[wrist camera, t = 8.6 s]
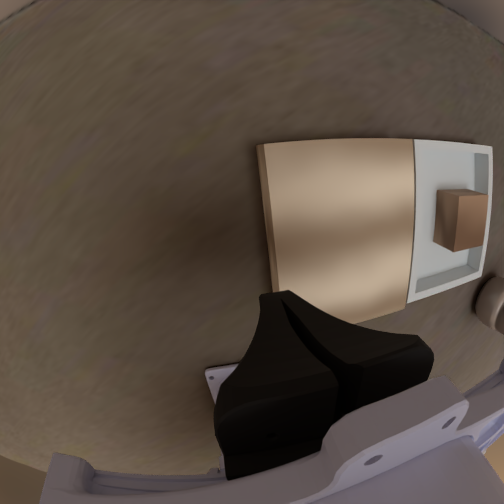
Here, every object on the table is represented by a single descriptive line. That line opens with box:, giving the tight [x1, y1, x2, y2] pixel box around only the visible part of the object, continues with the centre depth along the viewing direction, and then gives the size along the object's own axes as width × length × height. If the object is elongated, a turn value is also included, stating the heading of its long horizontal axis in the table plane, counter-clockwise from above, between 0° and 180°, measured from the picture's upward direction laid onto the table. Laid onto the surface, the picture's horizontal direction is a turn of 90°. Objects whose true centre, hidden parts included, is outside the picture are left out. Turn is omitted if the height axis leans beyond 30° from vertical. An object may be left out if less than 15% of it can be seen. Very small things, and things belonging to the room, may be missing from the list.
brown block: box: [433, 189, 489, 252], centre depth 21 cm, size 5×5×3 cm
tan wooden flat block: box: [256, 138, 414, 324], centre depth 20 cm, size 14×11×3 cm
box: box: [406, 139, 493, 303], centre depth 22 cm, size 14×12×2 cm
